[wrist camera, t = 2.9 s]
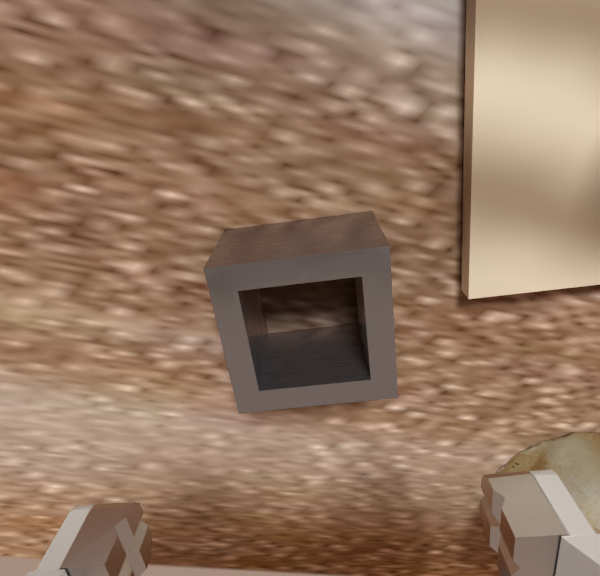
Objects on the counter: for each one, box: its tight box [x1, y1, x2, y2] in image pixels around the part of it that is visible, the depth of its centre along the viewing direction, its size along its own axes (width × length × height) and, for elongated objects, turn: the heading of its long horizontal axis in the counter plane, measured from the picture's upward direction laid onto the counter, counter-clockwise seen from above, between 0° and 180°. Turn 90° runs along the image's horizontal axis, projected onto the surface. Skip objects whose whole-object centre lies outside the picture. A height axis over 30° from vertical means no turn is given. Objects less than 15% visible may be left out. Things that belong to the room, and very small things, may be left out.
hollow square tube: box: [204, 211, 398, 413], centre depth 19 cm, size 6×6×4 cm
